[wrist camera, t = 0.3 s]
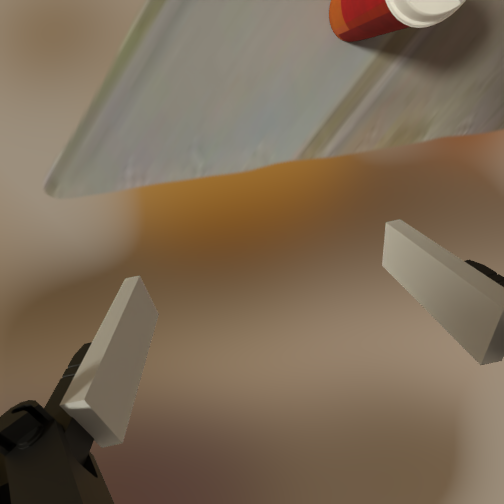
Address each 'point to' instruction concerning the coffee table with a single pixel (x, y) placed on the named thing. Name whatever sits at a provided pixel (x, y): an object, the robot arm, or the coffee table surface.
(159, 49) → the coffee table surface
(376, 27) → the coffee cup
